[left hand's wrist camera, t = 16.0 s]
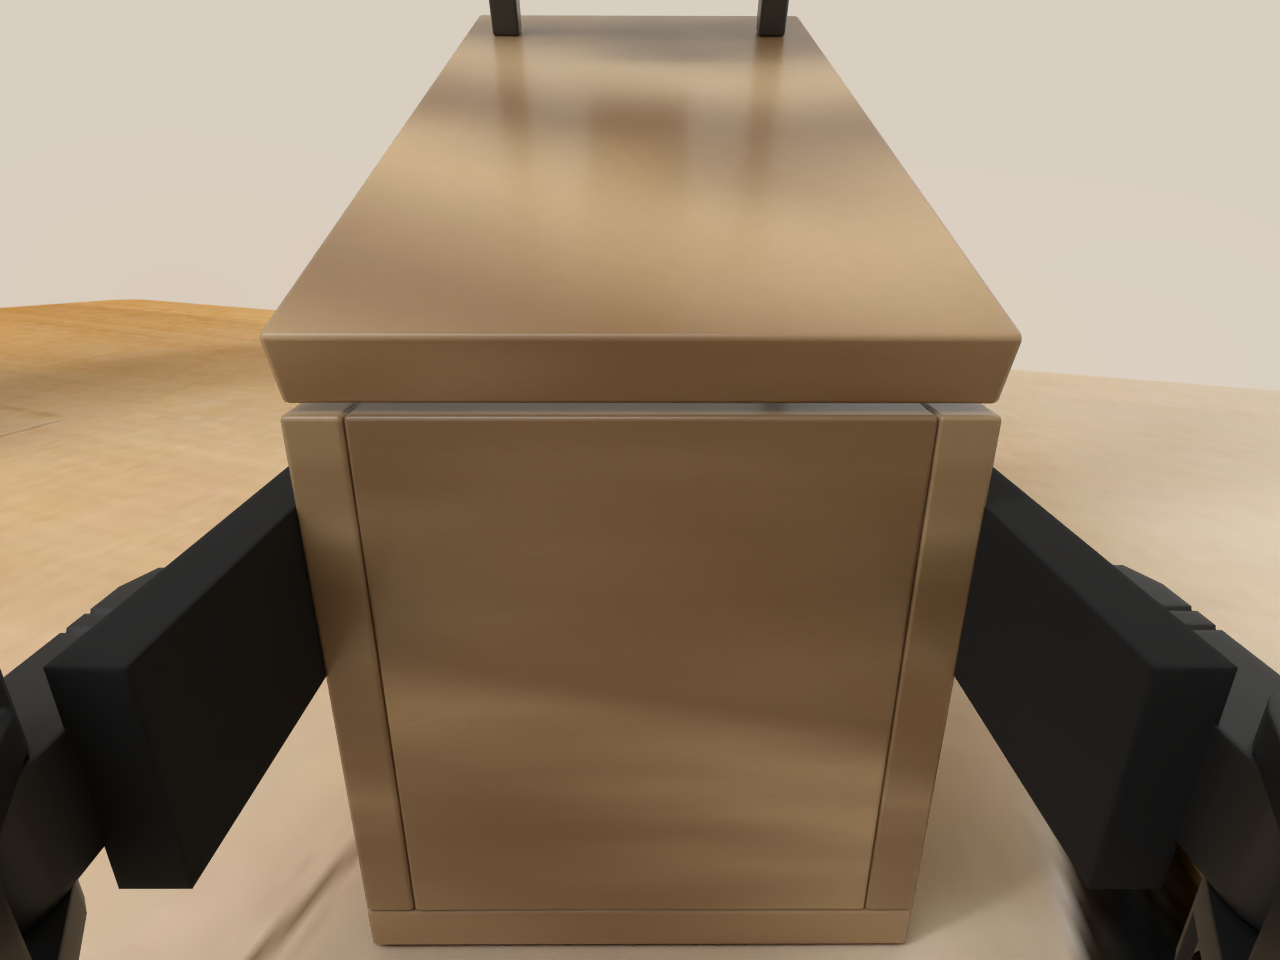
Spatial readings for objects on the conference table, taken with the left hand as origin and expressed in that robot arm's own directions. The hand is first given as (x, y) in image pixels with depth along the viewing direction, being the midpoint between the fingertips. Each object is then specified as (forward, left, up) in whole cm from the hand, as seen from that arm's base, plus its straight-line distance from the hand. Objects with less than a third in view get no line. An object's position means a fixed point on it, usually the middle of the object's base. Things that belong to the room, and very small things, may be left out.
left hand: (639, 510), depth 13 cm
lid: (+5, -3, +6) cm, 8 cm away
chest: (+5, -3, -7) cm, 9 cm away
